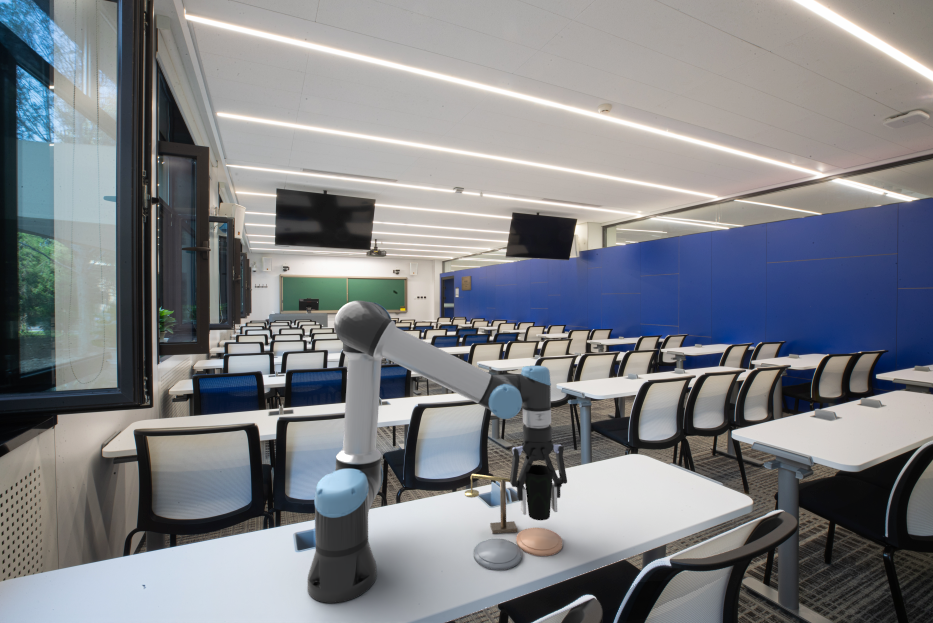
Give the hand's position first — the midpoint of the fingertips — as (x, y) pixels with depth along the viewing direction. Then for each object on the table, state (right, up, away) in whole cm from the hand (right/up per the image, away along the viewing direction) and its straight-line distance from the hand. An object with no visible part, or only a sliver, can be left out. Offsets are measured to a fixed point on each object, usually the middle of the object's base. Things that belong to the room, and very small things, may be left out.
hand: (539, 510), depth 107 cm
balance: (-9, -9, +7) cm, 14 cm away
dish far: (0, -8, 0) cm, 8 cm away
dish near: (-12, -9, -5) cm, 15 cm away
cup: (0, -1, 0) cm, 1 cm away
